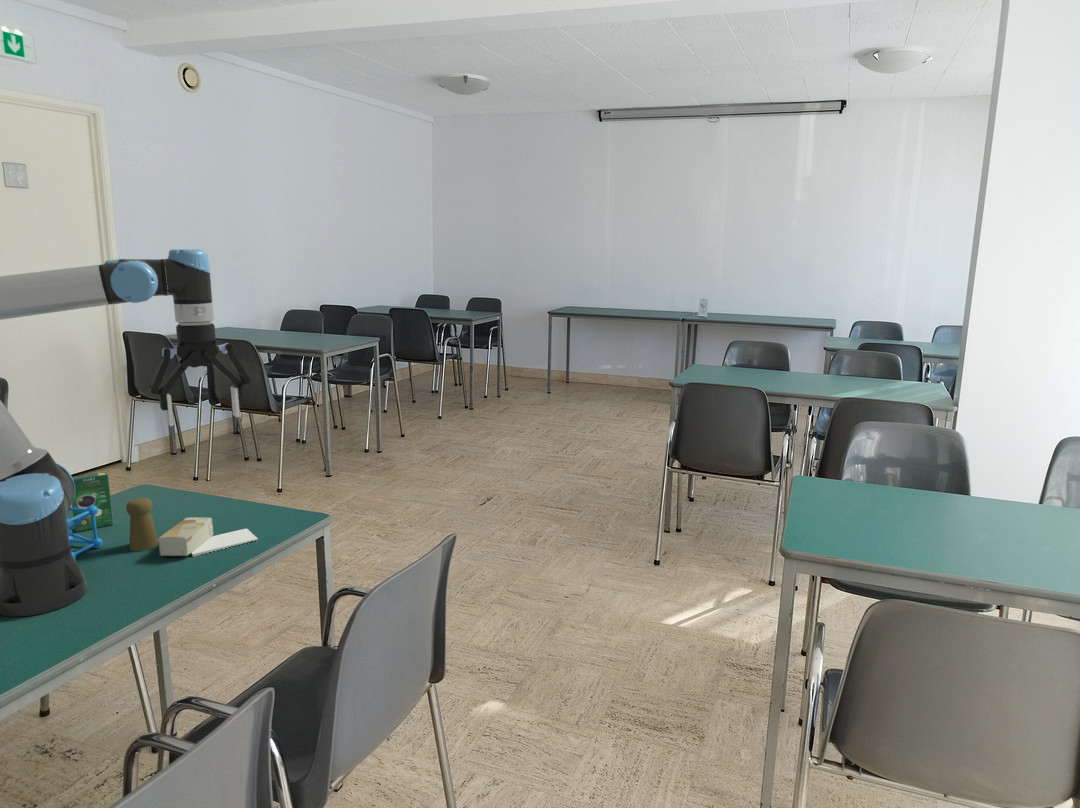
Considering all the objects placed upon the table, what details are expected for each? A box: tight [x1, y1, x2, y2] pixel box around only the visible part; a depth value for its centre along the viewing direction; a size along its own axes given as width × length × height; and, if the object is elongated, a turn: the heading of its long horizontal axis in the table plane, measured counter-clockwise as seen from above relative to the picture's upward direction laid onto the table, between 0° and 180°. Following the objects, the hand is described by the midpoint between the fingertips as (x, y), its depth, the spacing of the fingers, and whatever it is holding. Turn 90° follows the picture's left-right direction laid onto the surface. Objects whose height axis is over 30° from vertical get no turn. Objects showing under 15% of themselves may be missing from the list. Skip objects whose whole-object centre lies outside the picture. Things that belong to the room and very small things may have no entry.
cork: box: [125, 497, 159, 552], centre depth 170 cm, size 6×6×11 cm
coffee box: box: [71, 471, 114, 533], centre depth 181 cm, size 8×3×13 cm, turn 129°
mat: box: [189, 528, 259, 558], centre depth 172 cm, size 14×8×1 cm, turn 128°
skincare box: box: [158, 516, 214, 557], centre depth 169 cm, size 6×4×12 cm
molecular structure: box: [67, 505, 104, 560], centre depth 166 cm, size 10×10×10 cm
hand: (204, 420), depth 165 cm, fingers open, 13 cm apart
